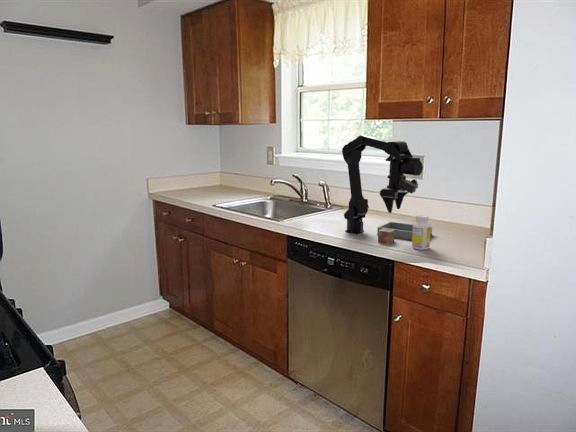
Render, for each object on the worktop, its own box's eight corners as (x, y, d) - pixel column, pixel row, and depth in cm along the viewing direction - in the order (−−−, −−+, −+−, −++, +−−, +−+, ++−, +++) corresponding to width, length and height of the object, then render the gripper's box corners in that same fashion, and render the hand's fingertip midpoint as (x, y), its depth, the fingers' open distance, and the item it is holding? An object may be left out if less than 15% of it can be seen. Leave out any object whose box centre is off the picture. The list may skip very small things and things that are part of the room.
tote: (377, 234, 191) (377, 227, 190) (390, 228, 202) (390, 221, 201) (420, 241, 179) (421, 233, 179) (431, 234, 190) (432, 227, 189)
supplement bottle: (426, 245, 174) (427, 214, 171) (432, 250, 167) (433, 217, 165) (409, 245, 174) (411, 214, 171) (414, 250, 167) (416, 218, 164)
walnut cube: (377, 242, 180) (378, 230, 178) (383, 239, 183) (383, 228, 182) (389, 244, 177) (389, 232, 176) (394, 241, 180) (394, 229, 179)
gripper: (407, 177, 162) (405, 217, 166) (423, 172, 177) (421, 209, 181) (380, 174, 169) (378, 213, 172) (397, 170, 183) (395, 206, 187)
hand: (394, 210), depth 178 cm, fingers open, 9 cm apart
